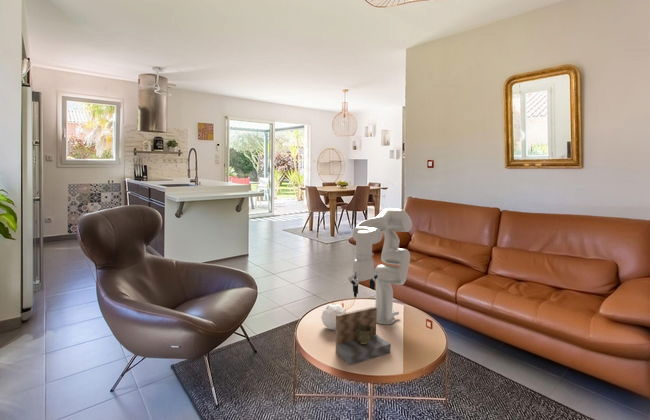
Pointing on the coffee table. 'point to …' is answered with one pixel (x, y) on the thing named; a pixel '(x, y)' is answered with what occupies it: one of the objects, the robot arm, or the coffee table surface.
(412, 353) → the coffee table surface
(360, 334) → the cup
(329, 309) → the geodesic sphere
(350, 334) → the board
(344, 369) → the coffee table surface
